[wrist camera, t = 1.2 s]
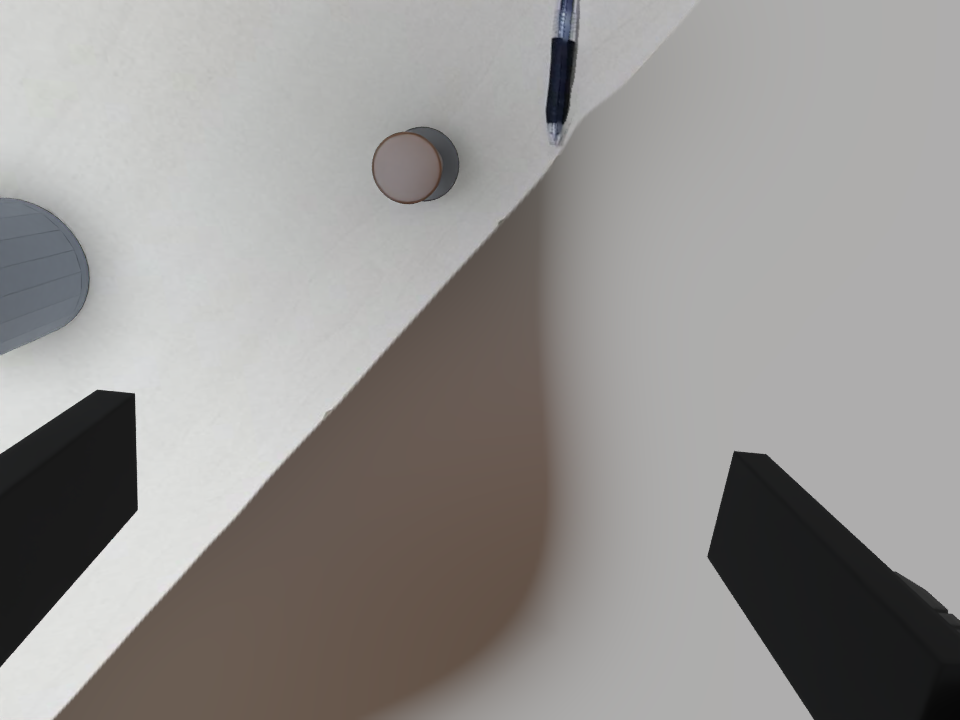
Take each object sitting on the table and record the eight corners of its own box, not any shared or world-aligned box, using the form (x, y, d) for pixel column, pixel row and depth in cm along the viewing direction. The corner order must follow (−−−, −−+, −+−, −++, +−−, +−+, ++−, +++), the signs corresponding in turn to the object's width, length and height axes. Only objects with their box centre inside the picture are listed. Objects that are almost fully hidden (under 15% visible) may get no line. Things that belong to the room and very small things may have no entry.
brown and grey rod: (411, 118, 41) (376, 75, 20) (468, 150, 42) (492, 141, 21) (382, 177, 42) (321, 195, 21) (439, 207, 43) (434, 254, 22)
